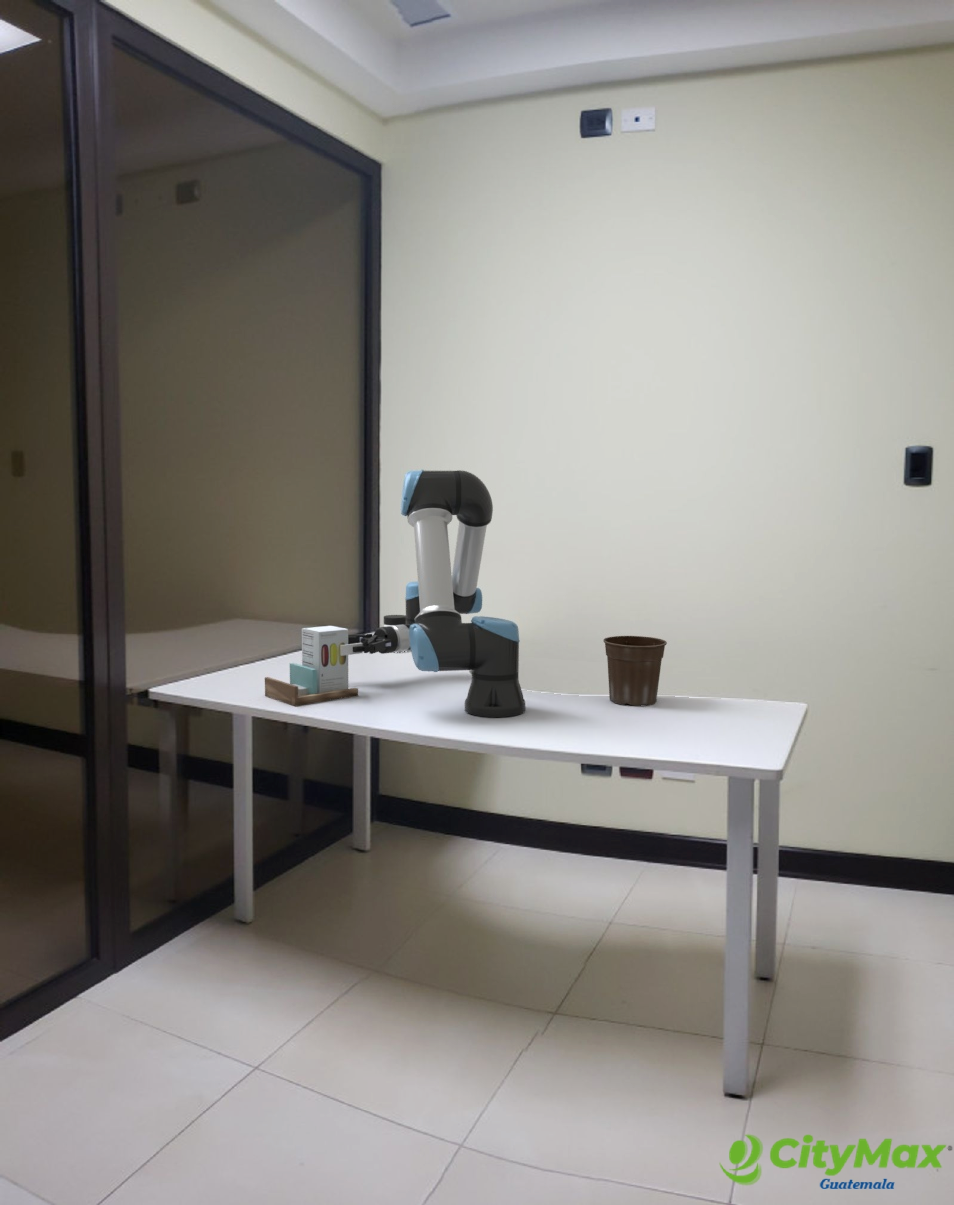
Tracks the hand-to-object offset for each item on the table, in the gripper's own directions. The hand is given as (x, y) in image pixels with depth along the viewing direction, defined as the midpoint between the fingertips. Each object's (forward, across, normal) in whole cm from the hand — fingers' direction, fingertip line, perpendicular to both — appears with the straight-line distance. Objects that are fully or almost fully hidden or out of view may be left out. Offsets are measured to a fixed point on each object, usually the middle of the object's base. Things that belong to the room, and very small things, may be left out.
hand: (327, 647), depth 253 cm
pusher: (+9, 0, -11) cm, 14 cm away
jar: (-54, +43, -13) cm, 70 cm away
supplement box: (+1, 0, -12) cm, 12 cm away
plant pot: (-56, -60, -13) cm, 83 cm away
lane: (+5, 0, -13) cm, 13 cm away
